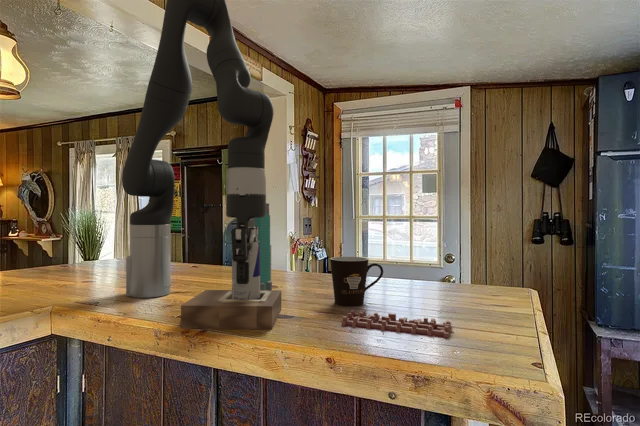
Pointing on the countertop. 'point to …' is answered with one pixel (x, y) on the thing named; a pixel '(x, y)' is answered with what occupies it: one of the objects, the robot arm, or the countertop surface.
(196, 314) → the holder board
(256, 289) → the energy drink
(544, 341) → the countertop surface
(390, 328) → the chocolate bar
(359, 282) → the coffee mug
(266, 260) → the building
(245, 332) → the countertop surface
